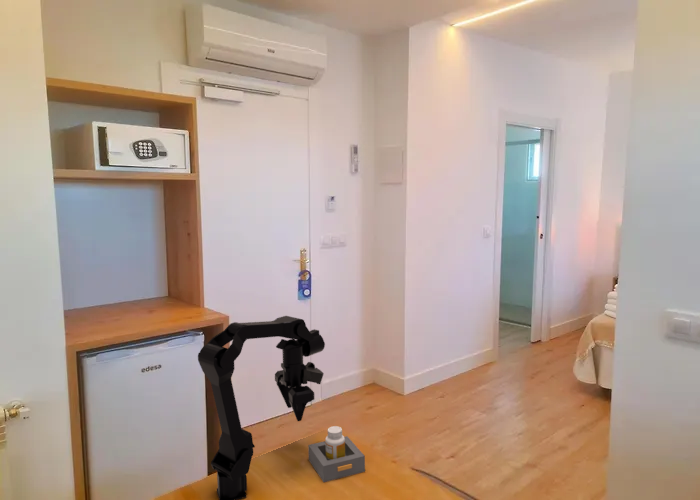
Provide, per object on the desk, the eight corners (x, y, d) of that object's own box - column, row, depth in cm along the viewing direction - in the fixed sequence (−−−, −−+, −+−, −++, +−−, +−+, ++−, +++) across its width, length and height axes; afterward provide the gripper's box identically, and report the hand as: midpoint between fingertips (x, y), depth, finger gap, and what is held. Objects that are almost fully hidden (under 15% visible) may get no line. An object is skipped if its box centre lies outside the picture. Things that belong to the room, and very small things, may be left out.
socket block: (324, 483, 130) (323, 467, 129) (308, 459, 141) (308, 444, 140) (365, 472, 134) (365, 456, 134) (347, 450, 146) (347, 436, 145)
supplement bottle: (345, 457, 140) (345, 424, 139) (345, 467, 135) (344, 434, 133) (326, 457, 140) (325, 424, 139) (325, 467, 135) (324, 434, 134)
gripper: (331, 367, 134) (332, 422, 136) (309, 347, 151) (310, 396, 152) (292, 373, 129) (293, 430, 131) (273, 352, 146) (275, 403, 148)
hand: (294, 414), depth 141 cm, fingers open, 9 cm apart
